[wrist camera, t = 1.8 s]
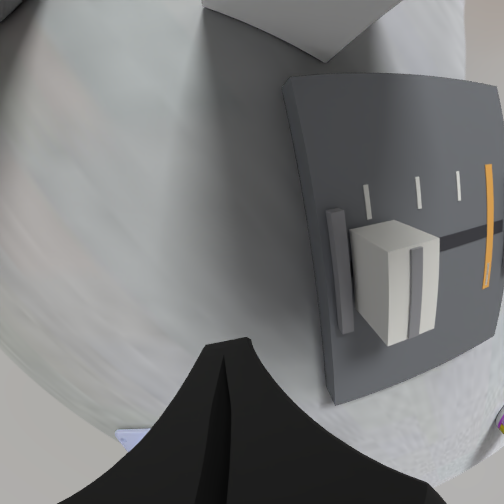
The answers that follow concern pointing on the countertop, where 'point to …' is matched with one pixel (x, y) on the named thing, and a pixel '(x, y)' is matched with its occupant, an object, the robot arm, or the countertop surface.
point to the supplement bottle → (500, 420)
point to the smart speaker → (7, 7)
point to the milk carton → (308, 20)
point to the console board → (400, 209)
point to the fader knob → (395, 279)
